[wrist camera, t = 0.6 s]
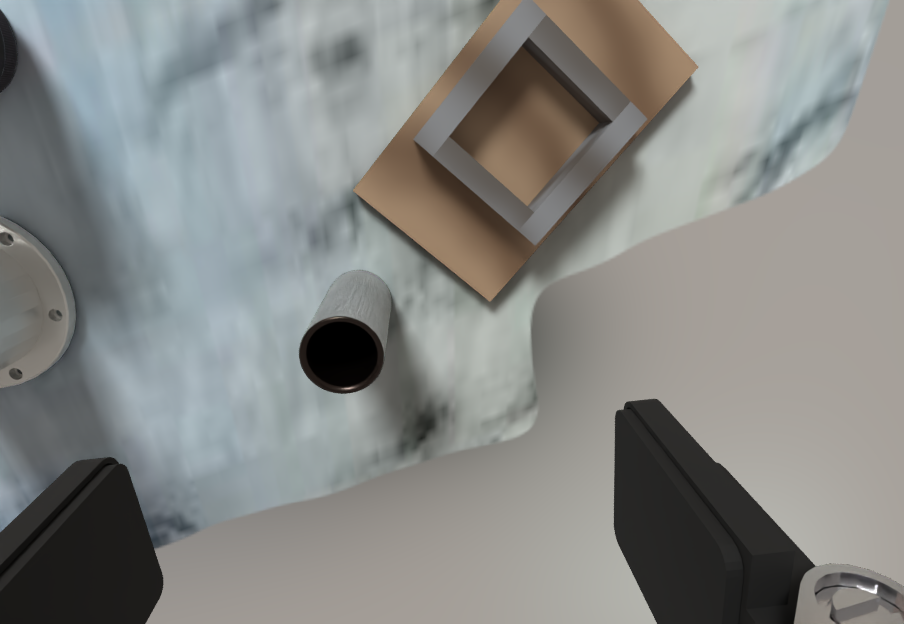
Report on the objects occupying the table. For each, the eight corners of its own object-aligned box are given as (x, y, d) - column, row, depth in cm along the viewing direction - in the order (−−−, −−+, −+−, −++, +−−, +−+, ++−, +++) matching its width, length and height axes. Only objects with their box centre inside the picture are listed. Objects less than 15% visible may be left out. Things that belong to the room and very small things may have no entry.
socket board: (487, 297, 39) (495, 313, 35) (354, 188, 36) (348, 194, 32) (689, 69, 35) (719, 61, 31) (558, -75, 32) (576, -101, 28)
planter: (395, 326, 39) (389, 389, 29) (333, 333, 39) (307, 399, 29) (387, 265, 38) (377, 311, 28) (322, 273, 37) (290, 321, 28)
